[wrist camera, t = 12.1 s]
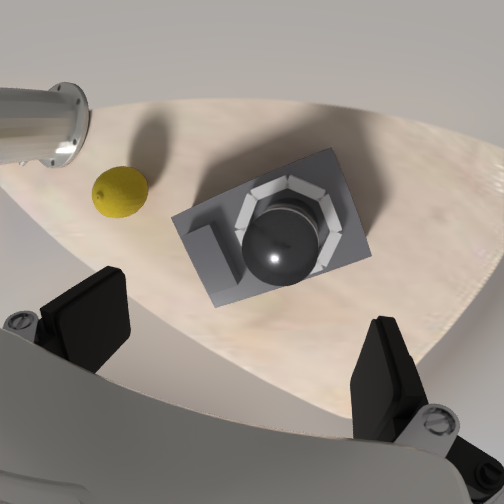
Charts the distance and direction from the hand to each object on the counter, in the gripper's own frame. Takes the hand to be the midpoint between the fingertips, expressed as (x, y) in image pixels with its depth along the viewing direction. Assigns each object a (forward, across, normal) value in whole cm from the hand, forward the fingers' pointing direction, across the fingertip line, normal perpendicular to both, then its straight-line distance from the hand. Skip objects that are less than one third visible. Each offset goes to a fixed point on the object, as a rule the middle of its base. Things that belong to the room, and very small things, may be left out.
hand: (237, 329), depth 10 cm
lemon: (+22, +18, -1) cm, 28 cm away
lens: (+17, 0, 0) cm, 17 cm away
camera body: (+22, +1, +1) cm, 22 cm away
